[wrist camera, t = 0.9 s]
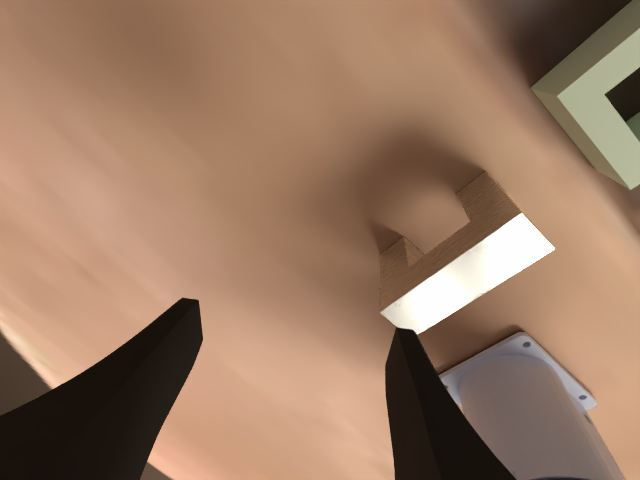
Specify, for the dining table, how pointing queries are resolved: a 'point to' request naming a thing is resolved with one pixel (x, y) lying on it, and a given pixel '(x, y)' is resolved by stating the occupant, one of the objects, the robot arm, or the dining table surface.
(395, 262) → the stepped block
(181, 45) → the dining table surface
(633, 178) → the slotted block
